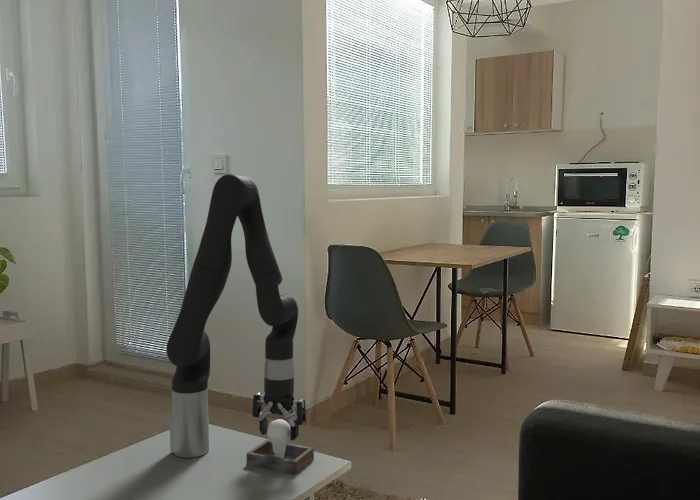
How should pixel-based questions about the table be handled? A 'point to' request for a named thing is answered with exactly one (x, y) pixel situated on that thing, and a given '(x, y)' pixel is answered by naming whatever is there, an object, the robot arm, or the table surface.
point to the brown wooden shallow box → (280, 464)
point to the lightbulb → (278, 436)
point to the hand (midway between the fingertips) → (278, 436)
